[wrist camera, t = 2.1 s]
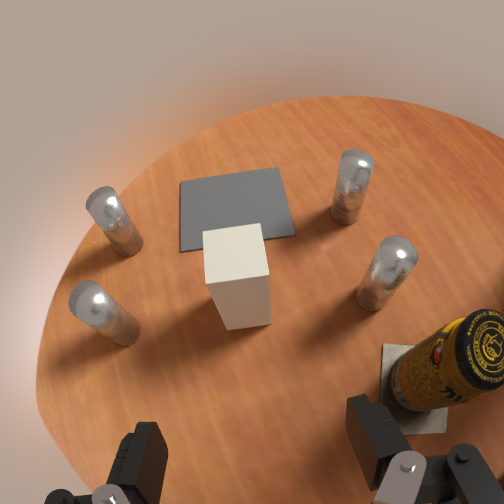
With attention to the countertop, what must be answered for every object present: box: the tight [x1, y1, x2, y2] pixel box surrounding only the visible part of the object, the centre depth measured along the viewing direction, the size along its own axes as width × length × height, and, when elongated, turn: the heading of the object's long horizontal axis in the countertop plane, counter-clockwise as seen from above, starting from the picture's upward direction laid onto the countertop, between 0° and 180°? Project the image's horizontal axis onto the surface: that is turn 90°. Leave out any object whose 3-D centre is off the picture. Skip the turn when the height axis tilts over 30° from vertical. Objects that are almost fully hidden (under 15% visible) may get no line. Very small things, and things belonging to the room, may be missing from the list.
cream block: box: [203, 223, 271, 330], centre depth 25 cm, size 4×4×10 cm
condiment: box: [379, 309, 504, 435], centre depth 19 cm, size 7×8×12 cm
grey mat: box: [181, 167, 296, 252], centre depth 36 cm, size 12×10×1 cm
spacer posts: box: [69, 149, 417, 347], centre depth 28 cm, size 27×13×8 cm, turn 97°
